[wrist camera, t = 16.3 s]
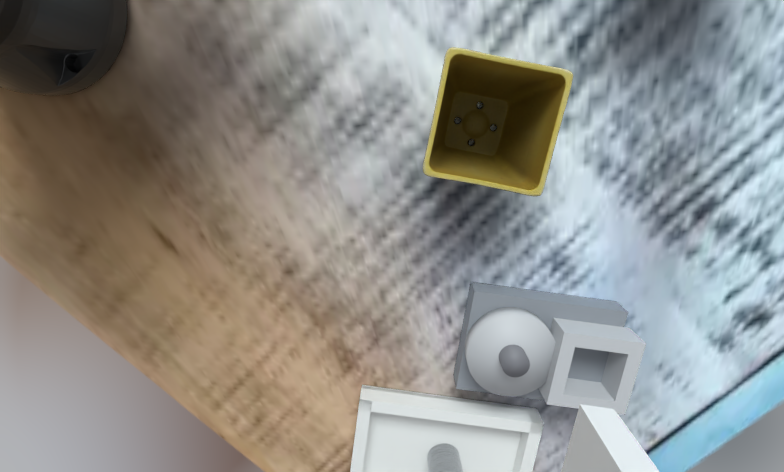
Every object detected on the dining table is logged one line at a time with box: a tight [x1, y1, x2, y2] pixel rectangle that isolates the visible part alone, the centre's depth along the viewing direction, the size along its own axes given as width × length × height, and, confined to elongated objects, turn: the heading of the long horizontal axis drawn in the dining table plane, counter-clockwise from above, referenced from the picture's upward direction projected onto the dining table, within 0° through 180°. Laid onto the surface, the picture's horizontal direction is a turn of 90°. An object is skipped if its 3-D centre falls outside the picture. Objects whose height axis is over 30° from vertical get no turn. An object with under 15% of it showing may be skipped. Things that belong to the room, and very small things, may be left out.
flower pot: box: [423, 47, 573, 196], centre depth 36 cm, size 9×9×9 cm
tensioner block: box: [454, 282, 646, 415], centre depth 42 cm, size 14×10×6 cm
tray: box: [350, 385, 544, 472], centre depth 47 cm, size 18×13×2 cm
